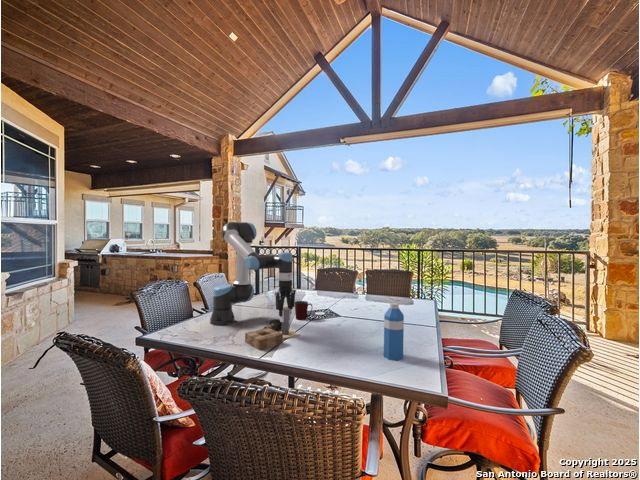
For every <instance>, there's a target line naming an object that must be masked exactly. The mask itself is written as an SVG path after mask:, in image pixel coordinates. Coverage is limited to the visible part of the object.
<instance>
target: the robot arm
mask: <svg viewBox="0 0 640 480" xmlns="http://www.w3.org/2000/svg"><path fill="white" fill-rule="evenodd" d="M220 234H221V238H222V239H223V240H224V243H227V244H229V245H230V246H231V247H232V248H233V249H234V250H235V251H236V260H235V261H236V262H235V280H234V281H233V282H232V284H230V283H228V284H221V285H217V286H215V287H214V288H213V291H212V313H211V315H210V318H209V323H210V324H211V325H214V326H222V325H223V326H225V325H230V324H233V323H234V322H235V321H236V320H235V318H236V317H235V315H234V312H233V305H234V304H235V305H236V304H240V303H247V302H249V301H251V300H252V299H253V297H254V294H255V289H254V286H253V284H251V281H250V279H249V278H250V277H249V275H250V271H257V270H265V269H266V270H267V269H268V270H269V269H278V291H277V292H274V295H275V309H276V310H277V311H278V317H279V320H280V322H284V310H283V307H284V305H285V299H286V303H287V304H286V305H287V306H286V307H288V308H289V322H290V321H291V315H292V310H293V308H295V302H296V301H295V300H296V292H297V290H296V289H293V261H294V260H293V253H292V252H286V251H285V252H279V253H278V255H277V254H268V255H259V254H258V253H257V251H255V250H254V249H253V248H252V247H251V245H252V244H253V241H254V240H256V237H257V228H256V227H255V225H254V224H253V223H251V222H247V221H246V222H241V221H239V222H238V221H237V222H236V221H229V222H227V223H225V224H224V225H223V227H222V228H221V230H220Z"/></svg>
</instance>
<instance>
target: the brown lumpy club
mask: <svg viewBox="0 0 640 480" xmlns="http://www.w3.org/2000/svg"><path fill="white" fill-rule="evenodd" d="M264 328H270V329H272V330H275V331H276V330H279V329H282V322H280V319H278V318H274V319H271V320H269V323H268V325H266V326H264V327H262V329H264Z"/></svg>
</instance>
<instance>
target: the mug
mask: <svg viewBox="0 0 640 480" xmlns="http://www.w3.org/2000/svg"><path fill="white" fill-rule="evenodd" d="M309 306H311V307H313V304H312V303H309V302H308V301H305V300H296V301H295V305H294V313H295V320H298V321H304V320H307V318H309V317H310V316H311V315H312V311H313V308H311V309H310V313H309V314H308V311H309V310H308V308H309Z"/></svg>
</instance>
